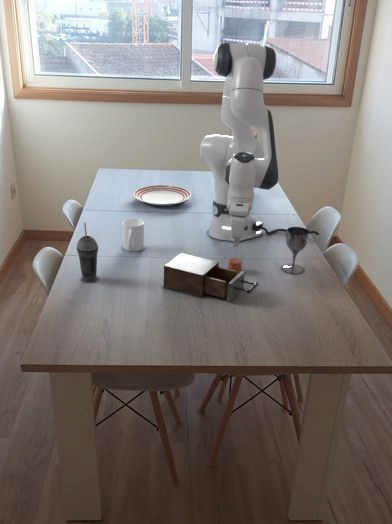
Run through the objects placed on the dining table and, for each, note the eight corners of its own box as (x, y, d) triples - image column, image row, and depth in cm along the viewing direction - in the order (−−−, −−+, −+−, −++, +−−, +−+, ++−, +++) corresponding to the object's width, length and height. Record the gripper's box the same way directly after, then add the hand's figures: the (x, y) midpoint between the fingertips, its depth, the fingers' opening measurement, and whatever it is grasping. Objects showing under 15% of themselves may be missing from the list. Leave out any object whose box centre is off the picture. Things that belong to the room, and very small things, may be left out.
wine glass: (305, 267, 217) (311, 228, 209) (301, 275, 211) (307, 236, 203) (284, 263, 219) (289, 225, 211) (279, 271, 213) (284, 232, 205)
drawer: (259, 292, 196) (261, 275, 193) (246, 306, 187) (248, 288, 184) (207, 279, 203) (208, 262, 200) (193, 292, 194) (193, 274, 191)
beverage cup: (82, 285, 197) (78, 228, 186) (76, 276, 202) (71, 221, 192) (103, 281, 200) (100, 226, 189) (95, 273, 205) (92, 218, 195)
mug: (140, 256, 219) (140, 230, 214) (118, 255, 220) (118, 229, 214) (145, 244, 229) (145, 219, 224) (125, 243, 230) (124, 218, 224)
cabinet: (217, 283, 203) (219, 261, 198) (201, 297, 193) (203, 275, 189) (180, 274, 208) (181, 252, 203) (163, 287, 198) (163, 265, 194)
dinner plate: (170, 213, 261) (170, 206, 259) (121, 201, 273) (121, 194, 271) (202, 198, 281) (202, 191, 279) (155, 187, 293) (155, 181, 291)
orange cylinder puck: (236, 267, 214) (237, 256, 212) (243, 273, 211) (245, 262, 208) (225, 270, 212) (225, 259, 210) (232, 275, 208) (233, 264, 206)
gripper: (232, 193, 207) (229, 230, 214) (229, 211, 189) (226, 251, 197) (250, 194, 206) (246, 231, 213) (248, 213, 189) (244, 253, 196)
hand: (236, 241), depth 205 cm, fingers open, 8 cm apart
